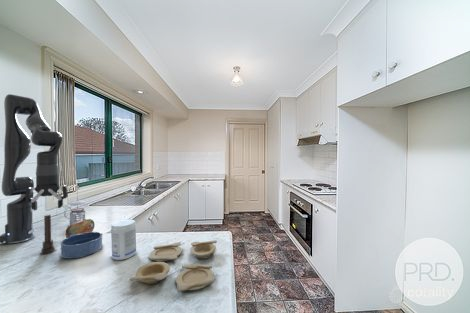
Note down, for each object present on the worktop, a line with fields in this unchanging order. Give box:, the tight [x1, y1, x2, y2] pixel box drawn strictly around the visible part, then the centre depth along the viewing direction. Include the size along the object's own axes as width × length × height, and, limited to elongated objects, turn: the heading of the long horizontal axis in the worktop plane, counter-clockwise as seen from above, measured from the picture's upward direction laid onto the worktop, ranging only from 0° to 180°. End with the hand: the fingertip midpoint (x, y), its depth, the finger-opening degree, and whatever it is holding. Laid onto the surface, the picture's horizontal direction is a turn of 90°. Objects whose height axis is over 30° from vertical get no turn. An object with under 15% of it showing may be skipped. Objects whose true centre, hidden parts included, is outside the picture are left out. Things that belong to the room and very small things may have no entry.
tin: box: [64, 218, 95, 239], centre depth 110 cm, size 15×3×8 cm, turn 168°
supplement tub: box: [110, 218, 137, 261], centre depth 90 cm, size 10×10×15 cm
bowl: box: [60, 231, 103, 259], centre depth 94 cm, size 15×15×6 cm
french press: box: [63, 185, 86, 226], centre depth 128 cm, size 10×12×25 cm
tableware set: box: [129, 239, 218, 293], centre depth 81 cm, size 35×29×4 cm
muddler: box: [40, 214, 55, 255], centre depth 93 cm, size 4×4×17 cm
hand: (47, 208), depth 93 cm, fingers open, 8 cm apart
